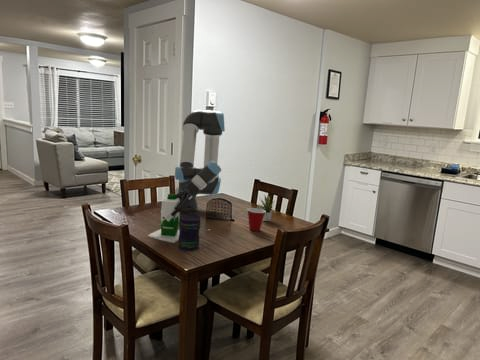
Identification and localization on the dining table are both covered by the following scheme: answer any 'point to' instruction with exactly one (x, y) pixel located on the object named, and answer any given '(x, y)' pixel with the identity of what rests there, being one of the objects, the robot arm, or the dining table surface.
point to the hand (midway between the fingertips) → (164, 216)
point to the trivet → (164, 236)
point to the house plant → (266, 205)
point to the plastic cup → (255, 218)
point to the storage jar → (189, 232)
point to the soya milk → (167, 207)
